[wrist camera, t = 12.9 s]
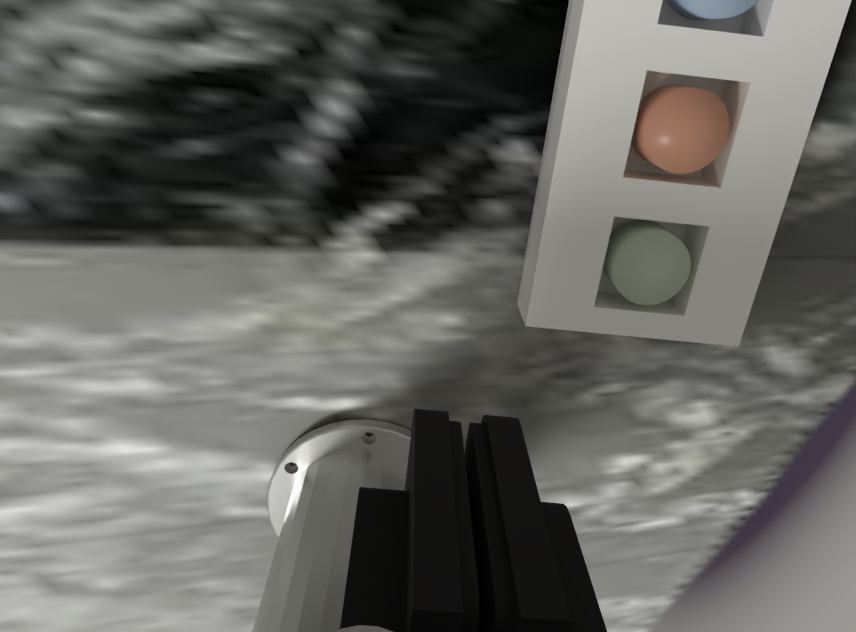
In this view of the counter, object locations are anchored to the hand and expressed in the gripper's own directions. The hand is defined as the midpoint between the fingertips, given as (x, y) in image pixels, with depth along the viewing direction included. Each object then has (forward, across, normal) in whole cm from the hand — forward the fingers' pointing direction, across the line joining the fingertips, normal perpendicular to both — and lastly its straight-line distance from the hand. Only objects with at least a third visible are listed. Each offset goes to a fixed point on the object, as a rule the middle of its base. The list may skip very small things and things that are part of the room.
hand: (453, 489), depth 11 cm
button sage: (+26, -12, +3) cm, 29 cm away
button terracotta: (+26, -12, -4) cm, 29 cm away
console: (+27, -12, -4) cm, 30 cm away
